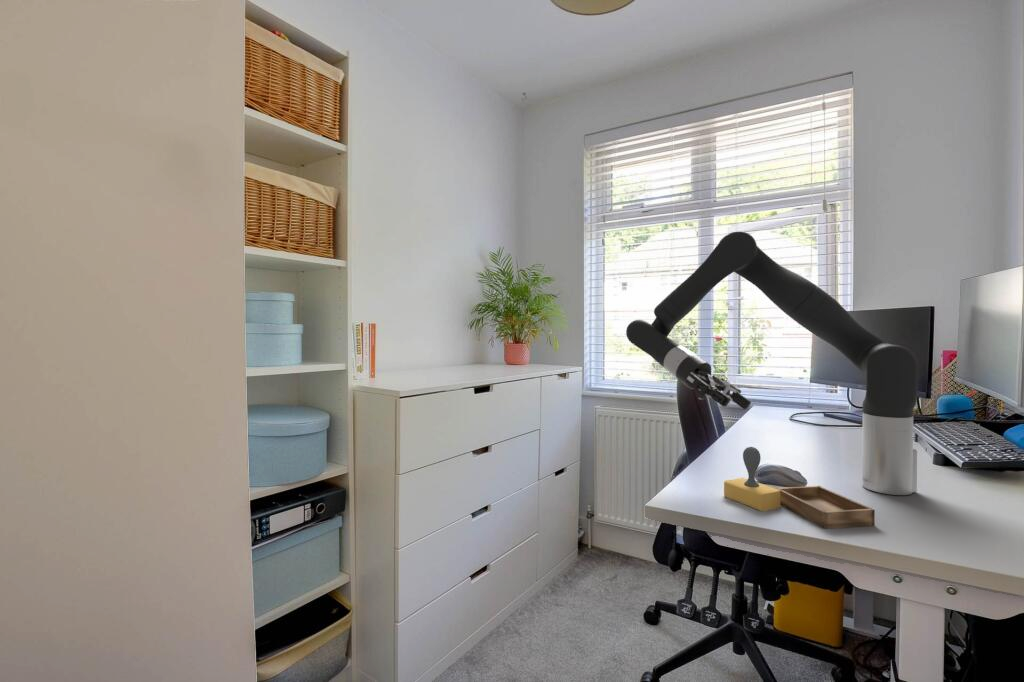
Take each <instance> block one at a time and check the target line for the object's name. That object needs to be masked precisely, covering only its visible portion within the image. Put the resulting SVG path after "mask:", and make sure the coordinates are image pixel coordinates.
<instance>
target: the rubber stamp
mask: <svg viewBox="0 0 1024 682" xmlns="http://www.w3.org/2000/svg"><path fill="white" fill-rule="evenodd" d="M761 458H762V457H761V453H760V451H759V450H758V449H757V447H755V446H748V447H746V448H745V449H744V450H743V453H742V460H743V463H744V466H745V468H746V471H747V475H748V477H747V478H744V477H739V478H733V479H728V480H724V481H723V497H724V496H725V497H724V498H726V497H728V498H727V499H729V498H731V499H733V500H732V501H734V500H735V501H734V502H737V501H738V503H739V502H741V503H740V504H742V503H743V504H742V505H744V504H745V506H747V505H748V506H747V507H749V506H750V508H752V507H753V508H752V509H754V508H755V510H757V509H758V510H757V511H760V512H767V511H771V509H772V510H776V509H780V508H781V505H780V490H778V489H775V488H776V487H772V486H768V485H765V484H762V483H760V482H757V481H756V473H757V471H758V468H759V465H760V463H761ZM731 499H730V500H731ZM766 510H767V511H766Z"/></svg>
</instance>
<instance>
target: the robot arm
mask: <svg viewBox="0 0 1024 682" xmlns="http://www.w3.org/2000/svg"><path fill="white" fill-rule="evenodd" d="M732 273H735V274H736V275H739V276H740V277H741V278H744V279H745V280H746V281H747V282H750V283H751V284H752V285H753V286H755V287H756V288H757V289H758V290H760V291H761V292H762V293H763V295H765V296H766V297H767V298H768V299H769V300H770V301H771V302H772V303H773V304H774V305H775V306H776V307H778V309H780V310H781V312H783V313H785V314H786V315H787V316H788V317H789V318H791V319H792V320H793V321H794V322H796V323H797V324H798V325H800V326H801V327H803V328H804V329H806V330H807V331H809V332H810V333H811V334H813V335H815V336H816V337H818V338H820V339H821V340H823V341H824V342H826V343H827V344H829V345H831V346H832V347H834V348H835V349H836V350H837V351H839V352H840V353H841V354H842V355H844V356H845V357H846V358H847V359H848V360H849V361H850V362H851V363H852V364H853V365H854V366H855V367H857V369H858V370H860V372H862V374H864V376H865V377H866V381H865V383H866V386H865V387H866V388H865V391H866V392H865V397H864V399H863V401H862V437H861V438H862V443H861V444H862V445H861V446H862V450H861V451H862V455H861V457H862V458H861V459H862V461H861V468H862V469H861V471H862V472H861V475H862V477H861V480H862V482H861V484H862V487H864V489H867V490H869V491H873V492H876V493H880V494H884V495H885V494H886V495H892V496H893V495H894V496H909V495H912V494H913V493H917V491H918V450H917V449H915V448H914V412H915V411H914V410H915V408H916V407H915V406H916V404H917V399H918V381H919V380H918V379H919V367H918V365H919V364H918V361H917V358H916V356H915V354H914V353H913V352H912V351H911V350H909V349H908V348H907V347H905V346H901V345H897V344H893V343H892V344H891V343H888V342H886V341H885V340H883V339H881V338H880V337H878V336H876V335H875V334H873V333H872V332H870V331H869V330H867V329H865V327H863V326H862V325H860V324H859V323H858V322H857V321H856V320H855V319H854V317H852V316H851V314H850V313H849V312H848V311H847V310H846V309H845V308H844V307H843V306H842V305H841V303H840V302H838V301H837V300H836V299H835V298H834V297H832V296H831V295H830V294H829V293H827V292H826V291H825V290H823V289H822V288H820V287H819V286H818V285H816V284H815V283H814V282H812V281H810V280H808V279H807V278H805V277H804V276H802V275H800V274H798V273H796V272H794V271H792V270H790V269H788V268H786V267H784V266H782V265H781V264H779V263H777V262H776V261H775V260H773V258H771V257H770V256H769V255H768V254H766V253H765V252H764V251H763V250H762V249H761V248H760V247H759V246H758V245H757V242H756V239H755V238H754V236H752V235H751V234H750V233H748V232H747V231H742V230H741V231H739V230H737V231H731V232H729V233H727V234H725V235H724V236H722V238H721V239H720V240H719V241H718V244H717V245H716V246H715V247H714V249H713V250H712V252H711V253H710V254H709V255H708V256H707V258H706V259H704V261H703V262H702V263H701V264H700V265H699V266H698V268H697V269H696V270H695V271H694V272H693V273H692V274H690V276H688V277H687V278H686V279H685V280H684V281H683V282H682V283H680V284H679V285H678V286H677V287H676V288H675V289H674V290H673V291H671V292H670V293H669V294H668V295H667V296H666V297H664V298H663V300H662V301H661V302H660V303H659V304H658V305H656V307H655V308H654V310H653V314H654V316H655V318H654V320H653V321H652V323H649V322H648V321H647V320H644V319H635V320H632V321H631V322H630V323H628V325H627V327H626V330H625V334H626V338H627V340H628V341H629V342H630V343H631V344H632V345H633V346H636V347H637V348H638V349H639V350H641V351H643V352H644V353H646V354H647V355H649V356H650V357H651V358H652V359H654V360H655V362H657V364H659V365H660V366H661V367H663V368H664V369H666V371H667V372H668V373H669V374H671V375H672V376H673V377H675V378H676V379H677V380H678V381H679V382H681V384H683V385H685V386H686V387H687V388H688V389H691V390H695V391H696V392H698V393H699V394H700V395H701V396H707V398H710V399H712V400H714V401H715V402H717V403H718V404H719V405H721V406H722V407H724V408H725V407H727V406H728V405H729V404H730V402H731V401H732V402H733V403H735V404H736V405H738V406H739V407H740V408H742V409H743V410H747V409H749V407H750V406H751V403H752V402H751V400H750V399H748V398H746V397H745V396H744V395H742V394H741V393H742V390H741V389H739V388H737V387H736V386H735V385H733V384H732V383H730V382H729V381H728V380H726V379H725V378H723V377H721V378H720V377H719V376H716V375H715V374H714V375H712V365H711V364H710V363H709V362H708V361H706V360H704V358H701V357H700V356H699V355H697V354H696V353H694V352H693V351H691V350H690V349H688V348H686V347H684V346H683V345H681V344H680V343H679V342H677V341H675V340H674V339H672V338H670V337H668V336H670V334H671V332H672V331H673V329H674V327H675V326H676V324H678V323H679V322H680V321H681V320H682V319H684V317H686V316H687V315H688V314H689V313H690V312H691V311H692V310H694V308H695V307H697V305H699V304H700V302H701V301H702V300H703V299H704V298H705V296H707V295H708V293H710V291H712V289H714V288H715V287H716V286H717V285H718V284H719V283H721V282H722V281H723V280H724V279H725V278H726V277H729V276H730V275H731V274H732ZM731 392H732V393H731Z"/></svg>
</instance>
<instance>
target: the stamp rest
mask: <svg viewBox="0 0 1024 682" xmlns="http://www.w3.org/2000/svg"><path fill="white" fill-rule="evenodd" d="M774 488H775V489H778V490H780V506H782V507H784V508H786V509H788V510H789V511H791V512H793V513H795V514H797V515H799V516H800V517H802V518H804V519H806V520H808V521H810V522H812V523H813V524H815V525H817V526H819V527H820V528H822V529H824V530H825V529H840V528H857V527H858V528H859V527H872V526H874V527H875V526H876V525H875V523H876V522H875V520H876V519H875V517H876V516H875V511H876V510H875V509H873V508H872V507H869V506H867V505H864V504H862V503H860V502H858V501H856V500H853V499H851V498H848V497H846V496H843V495H842V494H839V493H836V492H834V491H832V490H829V489H827V488H825V487H823V486H821V485H809V486H790V487H788V486H786V487H774Z"/></svg>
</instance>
